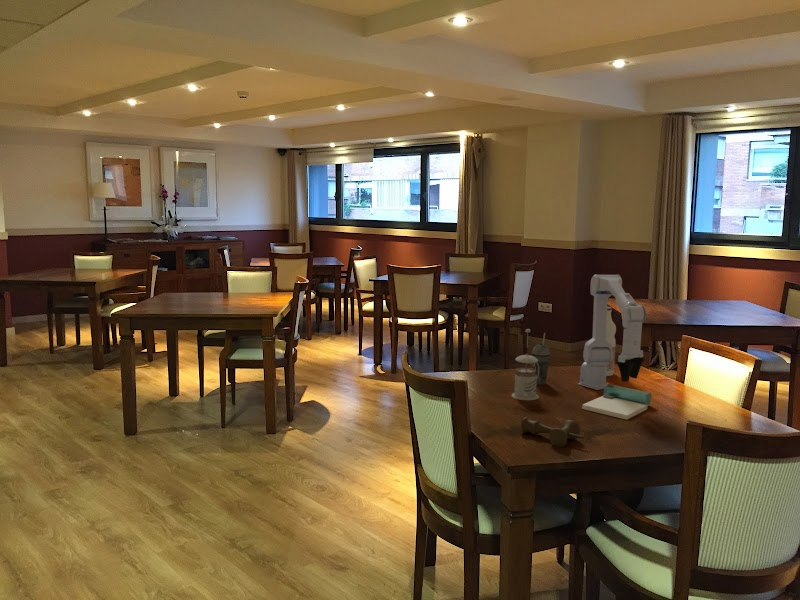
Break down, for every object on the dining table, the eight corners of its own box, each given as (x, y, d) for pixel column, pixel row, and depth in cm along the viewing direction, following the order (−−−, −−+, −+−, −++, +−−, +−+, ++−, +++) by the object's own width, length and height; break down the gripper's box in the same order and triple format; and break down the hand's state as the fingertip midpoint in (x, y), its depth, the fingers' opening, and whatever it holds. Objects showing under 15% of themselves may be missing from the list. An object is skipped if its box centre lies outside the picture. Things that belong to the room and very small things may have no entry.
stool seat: (582, 408, 228) (582, 402, 228) (603, 399, 240) (604, 393, 239) (626, 419, 217) (627, 413, 217) (647, 409, 229) (647, 403, 229)
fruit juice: (612, 377, 270) (616, 309, 266) (588, 375, 274) (592, 307, 270) (614, 372, 279) (618, 306, 275) (591, 369, 282) (595, 304, 278)
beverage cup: (526, 381, 263) (529, 331, 260) (543, 379, 265) (545, 330, 262) (536, 386, 256) (538, 335, 253) (552, 384, 258) (555, 334, 255)
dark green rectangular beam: (603, 397, 241) (604, 385, 240) (608, 395, 243) (609, 383, 243) (645, 407, 230) (646, 394, 229) (650, 404, 233) (651, 392, 232)
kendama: (530, 429, 208) (591, 443, 196) (515, 438, 201) (577, 453, 188) (531, 411, 207) (592, 423, 195) (515, 419, 200) (577, 432, 187)
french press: (505, 395, 243) (508, 328, 239) (525, 390, 250) (528, 324, 247) (527, 401, 235) (530, 332, 232) (547, 396, 243) (550, 328, 239)
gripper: (633, 345, 217) (631, 385, 219) (652, 339, 228) (649, 378, 230) (613, 342, 222) (610, 381, 224) (632, 336, 233) (630, 374, 235)
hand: (629, 379), depth 227 cm, fingers open, 6 cm apart
